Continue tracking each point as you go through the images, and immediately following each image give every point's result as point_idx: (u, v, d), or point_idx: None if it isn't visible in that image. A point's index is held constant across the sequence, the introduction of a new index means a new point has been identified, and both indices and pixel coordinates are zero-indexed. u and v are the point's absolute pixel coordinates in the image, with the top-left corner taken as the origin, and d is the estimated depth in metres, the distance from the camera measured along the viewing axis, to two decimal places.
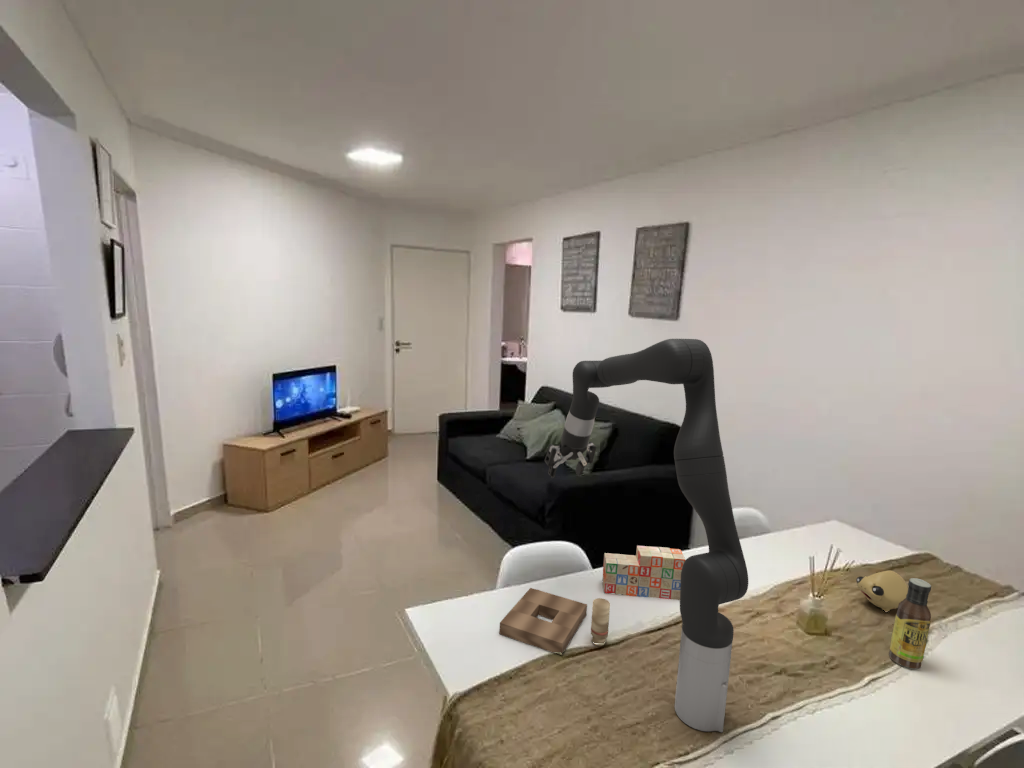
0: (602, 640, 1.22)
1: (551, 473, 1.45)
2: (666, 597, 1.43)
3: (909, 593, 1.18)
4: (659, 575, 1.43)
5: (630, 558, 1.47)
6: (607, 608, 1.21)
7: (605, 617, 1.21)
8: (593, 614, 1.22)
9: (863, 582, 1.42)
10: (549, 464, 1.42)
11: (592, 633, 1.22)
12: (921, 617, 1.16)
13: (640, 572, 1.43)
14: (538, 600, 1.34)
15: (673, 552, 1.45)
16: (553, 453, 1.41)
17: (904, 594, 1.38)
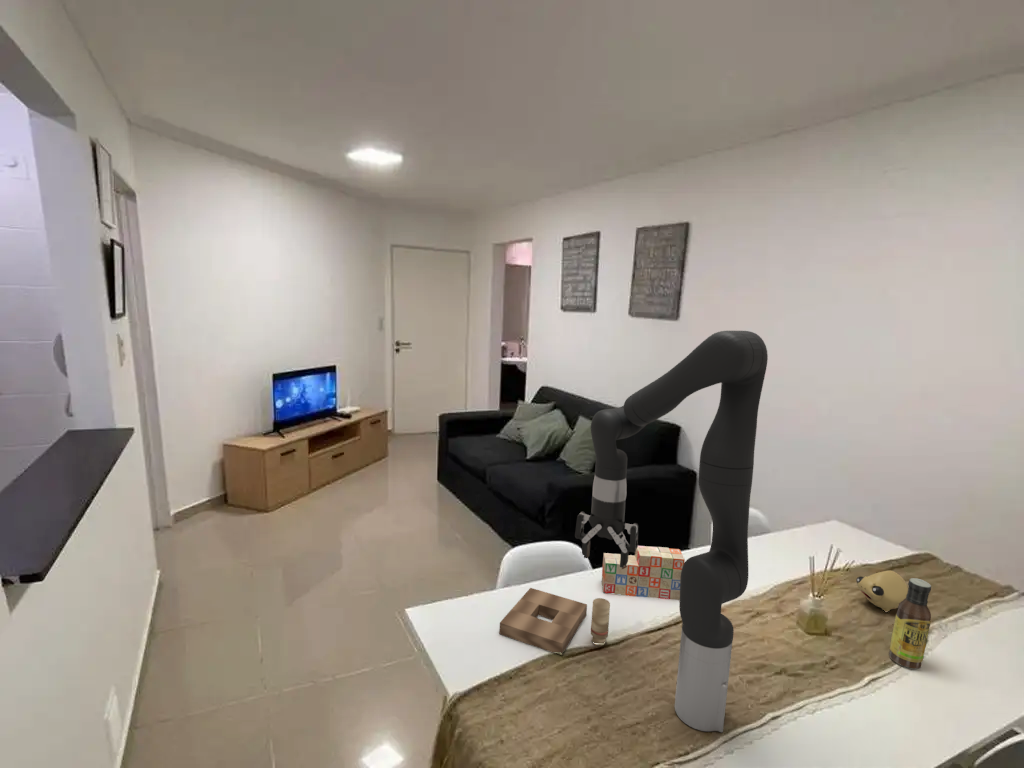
0: (602, 640, 1.22)
1: (583, 550, 1.22)
2: (665, 597, 1.43)
3: (909, 593, 1.18)
4: (658, 574, 1.43)
5: (629, 558, 1.47)
6: (607, 608, 1.21)
7: (605, 617, 1.21)
8: (593, 614, 1.22)
9: (863, 582, 1.42)
10: (576, 535, 1.22)
11: (592, 633, 1.22)
12: (921, 617, 1.16)
13: (639, 572, 1.43)
14: (538, 600, 1.34)
15: (672, 552, 1.45)
16: (578, 520, 1.21)
17: (904, 594, 1.38)
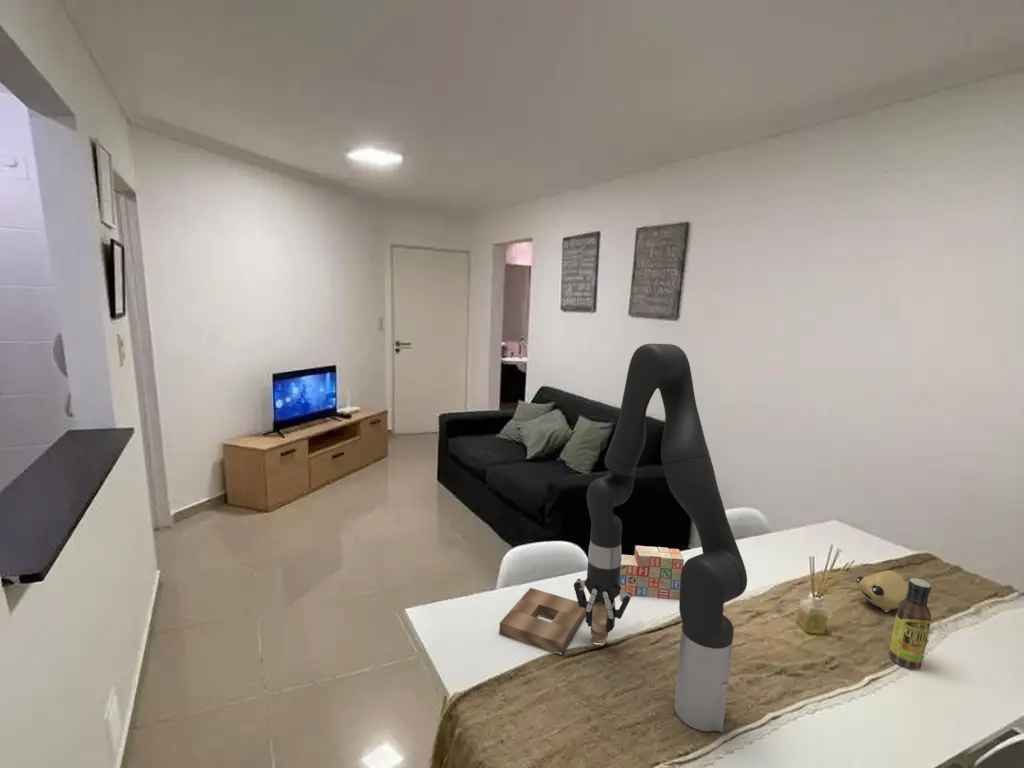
0: (602, 640, 1.22)
1: (587, 619, 1.24)
2: (664, 597, 1.43)
3: (909, 593, 1.18)
4: (658, 574, 1.43)
5: (628, 558, 1.47)
6: None
7: (605, 617, 1.21)
8: (593, 614, 1.22)
9: (863, 582, 1.42)
10: (579, 604, 1.23)
11: (592, 633, 1.22)
12: (921, 617, 1.16)
13: (638, 572, 1.43)
14: (538, 600, 1.34)
15: (671, 552, 1.45)
16: (576, 589, 1.23)
17: (904, 594, 1.38)
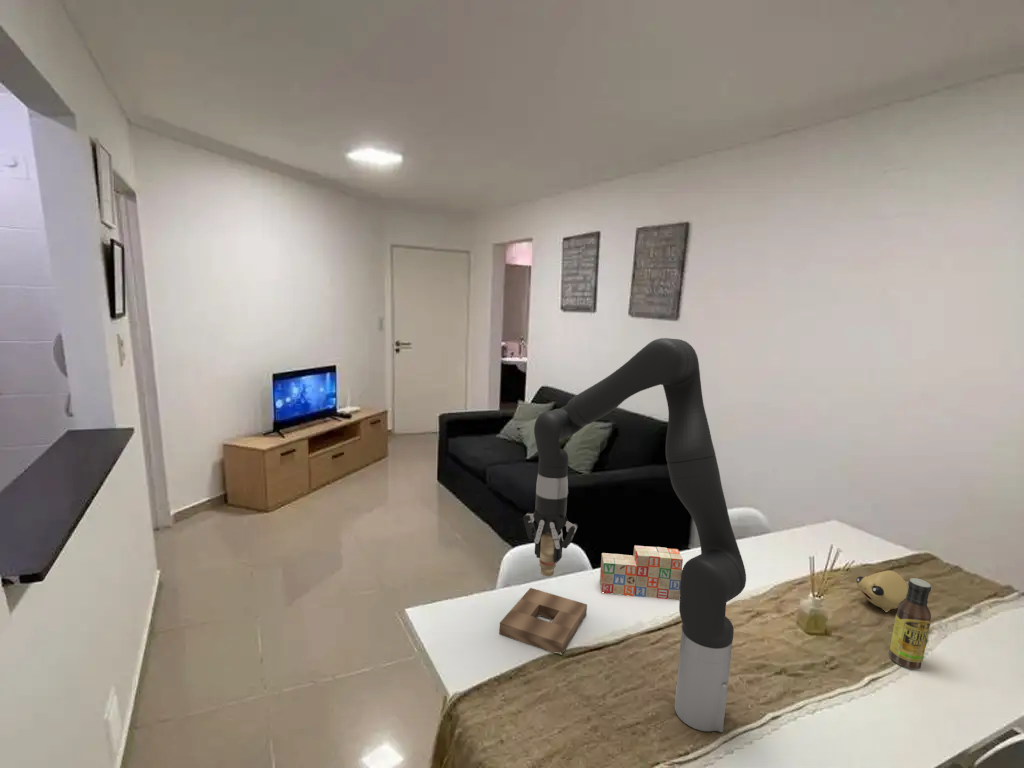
0: (550, 570, 1.26)
1: (535, 550, 1.28)
2: (663, 597, 1.43)
3: (909, 593, 1.18)
4: (657, 574, 1.43)
5: (627, 558, 1.47)
6: None
7: (552, 548, 1.25)
8: (541, 545, 1.26)
9: (863, 582, 1.42)
10: (529, 536, 1.27)
11: (540, 564, 1.27)
12: (921, 617, 1.16)
13: (637, 572, 1.43)
14: (538, 600, 1.34)
15: (670, 552, 1.45)
16: (525, 521, 1.27)
17: (904, 594, 1.38)
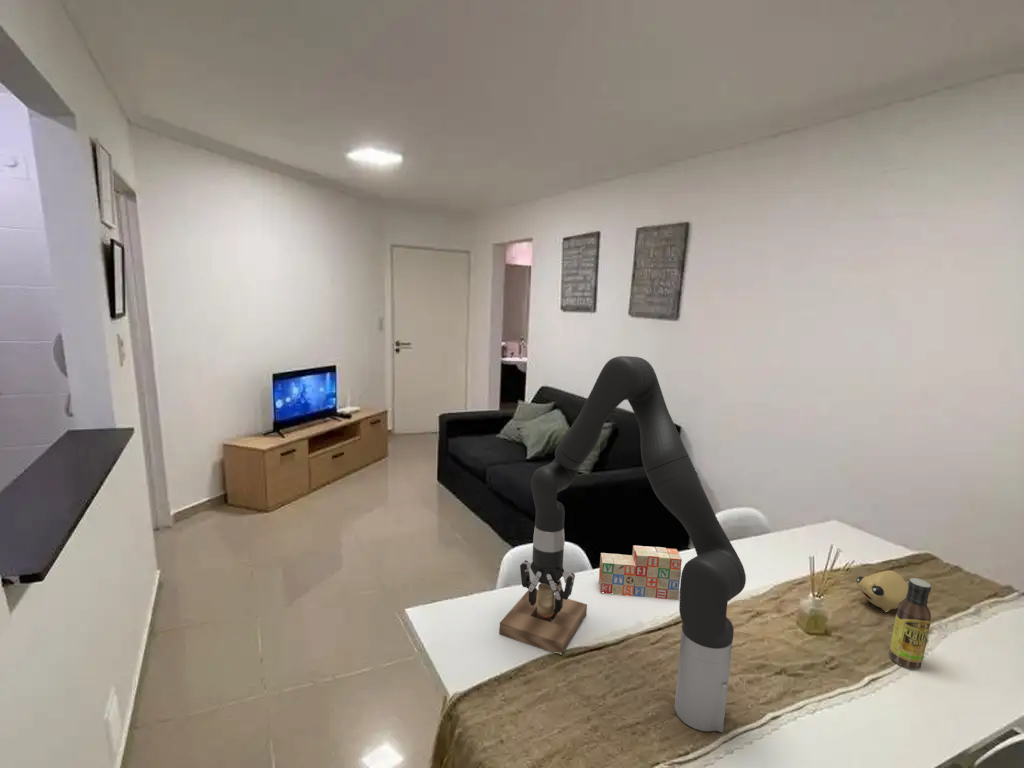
0: None
1: (529, 598, 1.30)
2: (662, 597, 1.43)
3: (909, 593, 1.18)
4: (655, 574, 1.43)
5: (626, 558, 1.47)
6: (551, 592, 1.27)
7: (549, 600, 1.27)
8: (538, 597, 1.28)
9: (863, 582, 1.42)
10: (523, 584, 1.30)
11: (538, 616, 1.28)
12: (921, 617, 1.16)
13: (636, 572, 1.43)
14: None
15: (669, 552, 1.45)
16: (522, 570, 1.29)
17: (904, 594, 1.38)
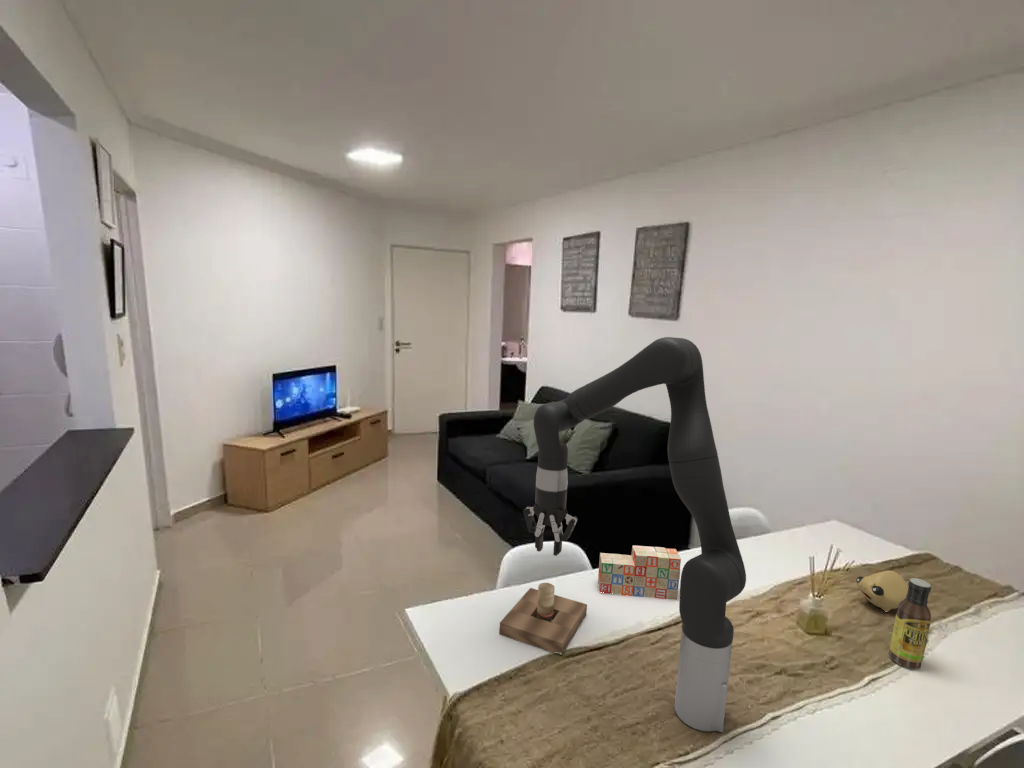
0: None
1: (536, 544, 1.27)
2: (661, 597, 1.43)
3: (909, 593, 1.18)
4: (655, 574, 1.43)
5: (626, 558, 1.47)
6: (551, 592, 1.27)
7: (550, 600, 1.27)
8: (538, 597, 1.28)
9: (863, 582, 1.42)
10: (529, 529, 1.27)
11: (538, 616, 1.28)
12: (921, 617, 1.16)
13: (635, 572, 1.43)
14: None
15: (668, 552, 1.45)
16: (525, 515, 1.27)
17: (904, 594, 1.38)
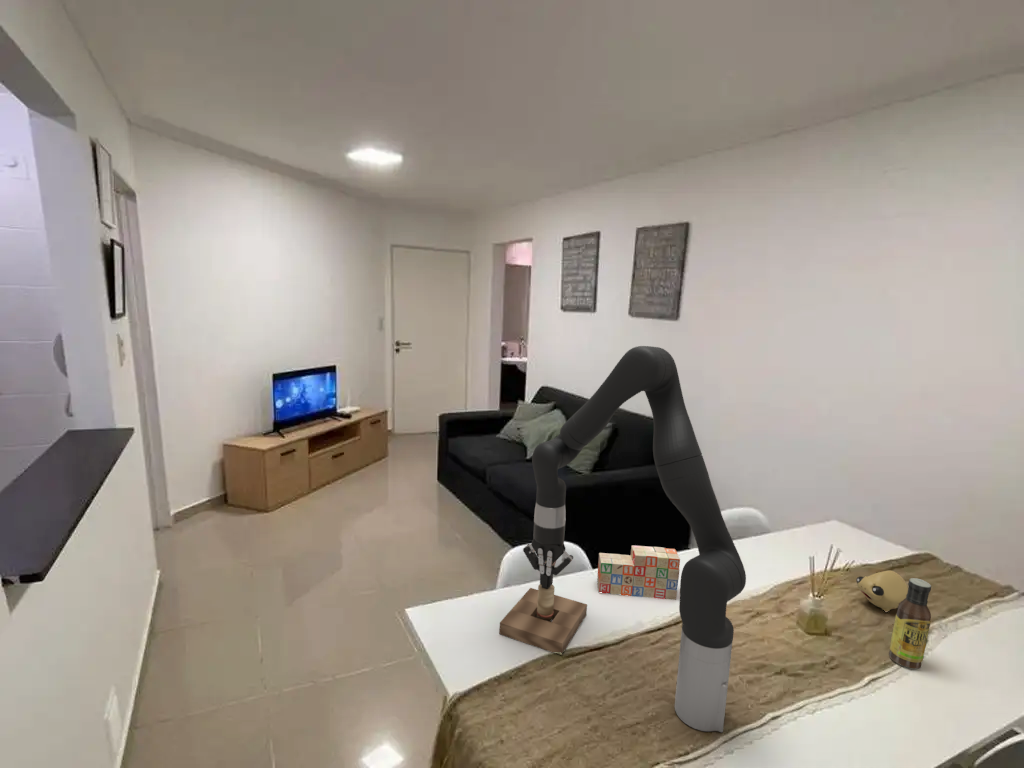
0: None
1: (541, 581, 1.28)
2: (661, 597, 1.43)
3: (909, 593, 1.18)
4: (654, 574, 1.43)
5: (625, 558, 1.47)
6: (551, 592, 1.27)
7: (549, 600, 1.27)
8: (538, 598, 1.28)
9: (863, 582, 1.42)
10: (534, 567, 1.28)
11: (538, 616, 1.28)
12: (921, 617, 1.16)
13: (634, 572, 1.43)
14: None
15: (668, 552, 1.45)
16: (526, 553, 1.28)
17: (904, 594, 1.38)
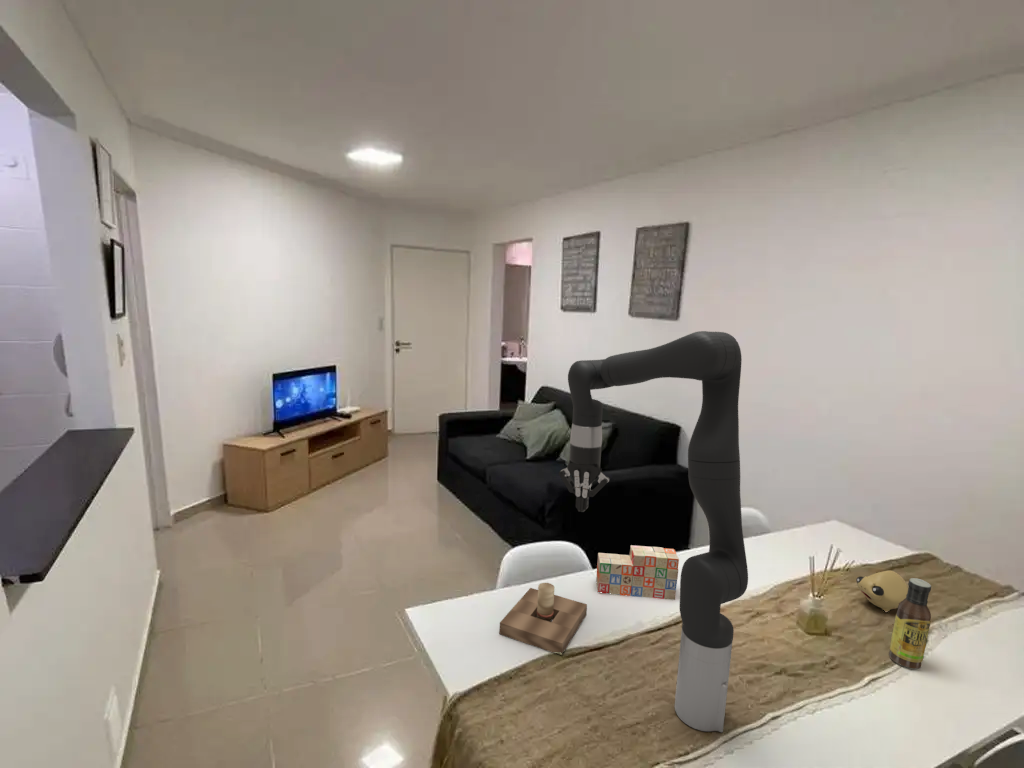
0: None
1: (576, 504, 1.28)
2: (660, 597, 1.43)
3: (909, 593, 1.18)
4: (653, 574, 1.43)
5: (624, 558, 1.47)
6: (551, 592, 1.27)
7: (549, 600, 1.27)
8: (538, 597, 1.28)
9: (863, 582, 1.42)
10: (569, 490, 1.28)
11: (538, 616, 1.28)
12: (921, 617, 1.16)
13: (633, 572, 1.43)
14: None
15: (667, 552, 1.45)
16: (562, 476, 1.28)
17: (904, 594, 1.38)
